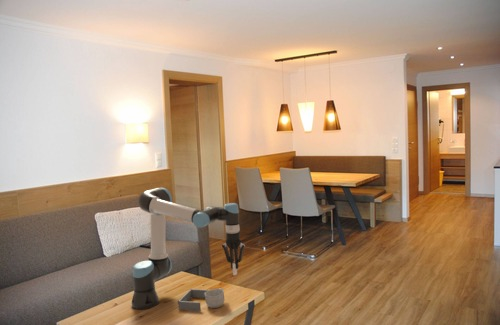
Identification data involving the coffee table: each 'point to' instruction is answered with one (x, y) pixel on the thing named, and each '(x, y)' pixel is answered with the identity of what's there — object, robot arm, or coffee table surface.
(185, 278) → the coffee table surface
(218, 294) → the teacup
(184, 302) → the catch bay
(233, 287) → the coffee table surface
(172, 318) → the coffee table surface
